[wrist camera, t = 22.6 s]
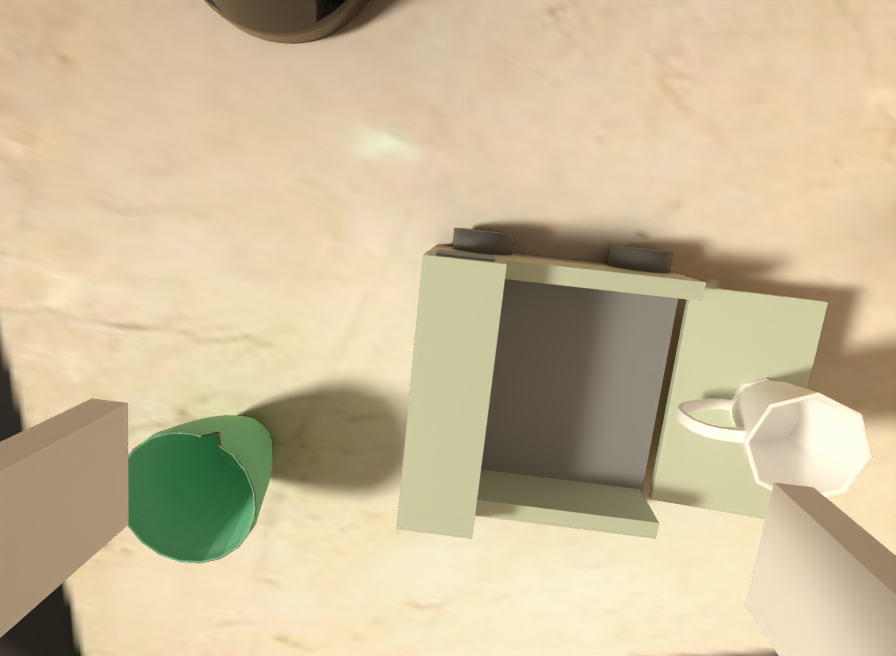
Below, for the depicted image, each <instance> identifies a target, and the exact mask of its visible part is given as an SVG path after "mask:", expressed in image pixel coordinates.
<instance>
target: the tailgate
mask: <svg viewBox="0 0 896 656" xmlns="http://www.w3.org/2000/svg"><path fill="white" fill-rule="evenodd" d="M827 305H828V302H825V301H821V300H813V299H805V298H796V297H788V296H780V295H771V294H763V293H755V292H746V291H738V290H730V289H721V288H713V287H705V291H704V296H703V301H697V300H688V299H686V305H685V310H684V315H683V320H682V326H681V331H680V336H679V341H678V347H677V352H676V357H675V362H674V367H673V373H672V378H671V383H670V388H669V394H668V399H667V404H666V409H665V415H664V420H663V425H662V430H661V436H660V441H659V446H658V451H657V457H656V462H655V467H654V472H653V478H652V483H651V488H650V493H649V494H650V497H651V499H652V500H658V501H664V502H670V503H675V504H681V505H687V506H693V507H699V508H704V509H710V510H716V511H722V512H728V513H733V514H739V515H745V516H751V517H757V518H762V519H765V518H766V514H767V510H768V506H769V502H770V497H771V493H772V491H771V490H769V489H767V488H765V487H763V486H761V485H759V484H757V483H756V481H755V479H754V477H753V475H752V472H751V470H750V467H749V464H748V462H747V460H746V457H745V455H744V453H743V451H742V448H741V445H740V442H730V441H723V440H717V439H713V438H708V437H705V436H702V435H700V434H697V433H695V432H692V431H690V430H689V429H688V428H686V427H685V426H683V425H682V424H681V423H680V422H679V421H678V420H677V419H676V418H677V411H678V406H679V404H680V403H683V402H686V401H691V400H698V399H707V398H726V399H731V398H732V396H733V395H734V393H735V392H736V390H737V389H738V387H739V386H740V384H743V383H747V382H750V381H754V380H758V379H762V378H766V379H768V380H770V381H780V382H787V383H790V384H793V385H796V386H799V387H802V388H806V389H807V388H808V384H809V380H810V375H811V371H812V367H813V363H814V359H815V355H816V351H817V346H818V342H819V338H820V334H821V330H822V326H823V321H824V317H825V313H826V309H827ZM687 414H689V415H690V416H692V417H693V418H695V419H697V420H700V421H702V422H705V423H707V424H710V425H714V426H719V427H735V426H734V424H733V420H732V417H731V413H730V410H724V409H714V410H703V411H696V412H690V413H687Z"/></svg>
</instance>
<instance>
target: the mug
mask: <svg viewBox="0 0 896 656" xmlns="http://www.w3.org/2000/svg"><path fill="white" fill-rule="evenodd" d="M272 464H273V453H272V438H271V436H270V433H269V431H268V430H267V428H266V427H265V426H264V424H262V423H261V422H259V421H258V420H256V419H255V418H252V417H249V416H228V415H224V416H215V417H208V418H204V419H200V420H195V421H192V422H188V423H185V424H182V425H178V426H175V427H172V428H170V429H167V430H164V431H160V432H158V433H156V434H154V435H152V436H151V437H149V438H148V439H147V440H145V441H144V442H142V443H141V444H140V445H138V446H137V447H135V448H134V449H133V450H132V451H131V453H130V454H129V456H128V527H129V528H130V529H131V530H132V531H133V533H134V534H135V535H136V536H137V537H138V539H139V540H140V541H141V542H142V543H143V544H145V545H146V546H148V547H149V548H150V549H152V550H153V551H155V552H156V553H158V554H159V555H162V556H164V557H167V558H170V559H173V560H176V561H179V562H188V563H205V562H209V561H213V560H217V559H221V558H223V557H224V556H226V555H228V554H229V553H231V552H232V551H234V550H235V549H237V548H238V547H239V546H240V545H241V544H242V542H243V541H244V540H245V538H246V537H247V536H248V534H249V533H250V532H251V530H252V529H253V528H254V526H255V524H256V521H257V518H258V515H259V512H260V508H261V505H262V502H263V499H264V496H265V493H266V490H267V487H268V484H269V480H270V477H271V471H272Z"/></svg>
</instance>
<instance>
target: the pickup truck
mask: <svg viewBox="0 0 896 656" xmlns="http://www.w3.org/2000/svg"><path fill="white" fill-rule="evenodd" d="M513 238H514V234H509V233H503V232H495V231H486V230H477V229H466V228H454V237H453V246H444V245H436V246H435V247H433V248H432V249H431V250H429V251H428V252H426V253H425V254H424V255H423V259H422V270H421V280H420V290H419V301H418V311H417V321H416V332H415V342H414V352H413V363H412V373H411V383H410V394H409V404H408V414H407V425H406V435H405V445H404V456H403V466H402V476H401V487H400V497H399V507H398V518H397V528H396V529H400V530H408V531H415V532H423V533H431V534H439V535H447V536H454V537H462V538H470V539H472V536H473V528H474V520H475V516H482V517H490V518H498V519H506V520H514V521H521V522H529V523H537V524H545V525H553V526H561V527H569V528H576V529H584V530H592V531H600V532H608V533H616V534H624V535H631V536H639V537H647V538H655V539H656V535H657V530H658V525H659V522H658V520H657V519H656V517H655V515H654V513H653V512H652V510H651V508H650V506H649V505H648V503H647V501H646V499H645V498H644V496H643V494H642V489H643V484H644V478H645V473H646V468H647V462H648V457H649V452H650V446H651V441H652V436H653V430H654V425H655V420H656V414H657V409H658V404H659V398H660V393H661V388H662V382H663V377H664V372H665V366H666V361H667V356H668V350H669V345H670V340H671V334H672V329H673V324H674V318H675V313H676V308H677V302H678V298H679V299H688V300H697V301H703V296H704V291H705V286H706V282H703V281H700V280H697V279H693V278H690V277H687V276H684V275H683V274H679V273H676V272H673V271H670V267H671V262H672V256H673V252H671V251H665V250H658V249H650V248H642V247H633V246H623V245H610V250H609V256H608V263H597V262H588V261H579V260H570V259H561V258H552V257H543V256H534V255H525V254H516V253H512V246H513Z"/></svg>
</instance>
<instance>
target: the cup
mask: <svg viewBox="0 0 896 656" xmlns="http://www.w3.org/2000/svg"><path fill="white" fill-rule="evenodd" d="M714 409H724V410H730V413H731V417H732V420H733V424H734V426H735V427H719V426H714V425H710V424H707V423H705V422H702V421H700V420H697V419H695V418H693V417H692V416H690V415H689V414H687V413H690V412H696V411H703V410H714ZM676 419H677V420H678V421H679V422H680V423H681V424H682V425H683V426H685V427H686V428H688V429H689V430H690V431H692V432H695V433H697V434H700V435H702V436H705V437H708V438H713V439H717V440H723V441H730V442H740V445H741V448H742V451H743V453H744V455H745V457H746V460H747V462H748V464H749V467H750V470H751V472H752V475H753V477H754V479H755V481H756V483H757V484H759V485H761V486H763V487H765V488H767V489H769V490H771V491H772V489H773V485H774V483H783V484H791V485H799V486H807V487H814V488H815V489H816V490H817V491H818V492H820V493H821V494H822V495H823V496H824V497H826V498H828V497H832V496H837V495H842V494H845V493H846V492H847V491H848V489H849V488H850V487H851V485H852V484H853V483H854V481H855V480H856V479H857V477H858V476H859V475H860V473H861V472H862V470H863V469H864V468H865V466H866V465H867V464H868V462H869V461H870V460H871V458H872V457H873V456H872V452H871V448H870V444H869V440H868V436H867V432H866V429H865V425H864V421H863V417H862V414H861V413H859V412H857V411H855V410H853V409H851V408H849V407H847V406H845V405H843V404H841V403H839V402H837V401H835V400H833V399H831V398H829V397H827V396H825V395H823V394H821V393H819V392H815V391H812V390H809V389H806V388H802V387H799V386H796V385H793V384H790V383H787V382H780V381H770V380H768V379H766V378H762V379H758V380H754V381H750V382H747V383H743V384H740V386H739V387H738V389H737V390H736V392H735V393H734V395H733V396H732V398H731V399H726V398H707V399H698V400H691V401H686V402H683V403H680V404H679V406H678V411H677V418H676Z"/></svg>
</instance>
